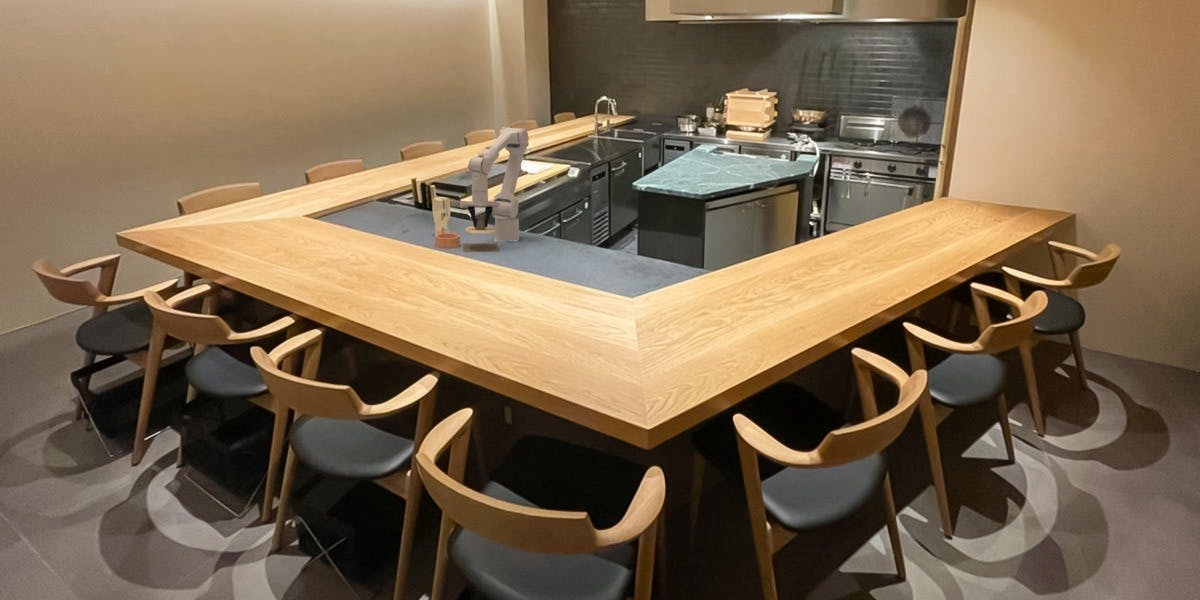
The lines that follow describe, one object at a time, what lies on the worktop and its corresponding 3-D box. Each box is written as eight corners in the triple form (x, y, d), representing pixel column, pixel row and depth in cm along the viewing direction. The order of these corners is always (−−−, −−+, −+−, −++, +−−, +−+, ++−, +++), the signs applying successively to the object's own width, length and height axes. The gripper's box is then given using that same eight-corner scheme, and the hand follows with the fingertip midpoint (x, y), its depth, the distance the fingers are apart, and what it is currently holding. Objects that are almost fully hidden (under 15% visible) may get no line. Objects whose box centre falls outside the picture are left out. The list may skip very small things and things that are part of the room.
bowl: (459, 243, 258) (459, 233, 257) (460, 248, 250) (459, 238, 249) (436, 243, 256) (435, 233, 255) (435, 249, 248) (435, 238, 247)
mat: (496, 244, 260) (496, 243, 259) (499, 252, 248) (499, 251, 247) (462, 244, 257) (462, 243, 256) (463, 253, 245) (463, 251, 244)
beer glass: (453, 234, 272) (452, 197, 268) (448, 238, 266) (446, 200, 261) (436, 233, 273) (435, 196, 268) (430, 236, 266) (429, 199, 261)
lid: (494, 227, 256) (494, 215, 255) (496, 234, 246) (496, 221, 245) (464, 228, 254) (464, 215, 252) (466, 234, 244) (465, 221, 242)
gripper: (460, 192, 240) (460, 229, 244) (500, 192, 243) (500, 229, 247) (459, 188, 246) (460, 225, 251) (499, 189, 250) (499, 224, 254)
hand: (480, 226), depth 249 cm, fingers closed on lid, 4 cm apart
